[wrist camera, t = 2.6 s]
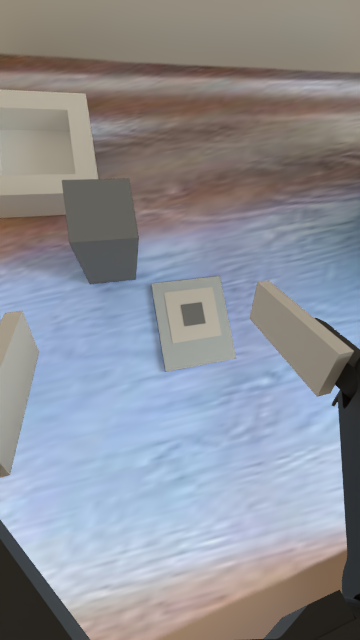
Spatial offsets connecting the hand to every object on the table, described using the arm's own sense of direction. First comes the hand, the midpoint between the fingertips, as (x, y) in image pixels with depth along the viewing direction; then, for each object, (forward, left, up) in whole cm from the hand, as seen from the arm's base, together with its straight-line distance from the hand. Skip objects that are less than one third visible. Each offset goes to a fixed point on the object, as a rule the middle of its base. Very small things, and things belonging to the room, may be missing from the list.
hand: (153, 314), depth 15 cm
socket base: (+9, -26, -20) cm, 33 cm away
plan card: (-8, -2, -20) cm, 21 cm away
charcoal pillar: (+2, -12, -20) cm, 23 cm away
